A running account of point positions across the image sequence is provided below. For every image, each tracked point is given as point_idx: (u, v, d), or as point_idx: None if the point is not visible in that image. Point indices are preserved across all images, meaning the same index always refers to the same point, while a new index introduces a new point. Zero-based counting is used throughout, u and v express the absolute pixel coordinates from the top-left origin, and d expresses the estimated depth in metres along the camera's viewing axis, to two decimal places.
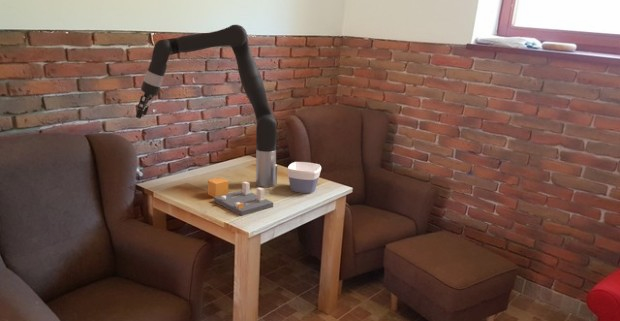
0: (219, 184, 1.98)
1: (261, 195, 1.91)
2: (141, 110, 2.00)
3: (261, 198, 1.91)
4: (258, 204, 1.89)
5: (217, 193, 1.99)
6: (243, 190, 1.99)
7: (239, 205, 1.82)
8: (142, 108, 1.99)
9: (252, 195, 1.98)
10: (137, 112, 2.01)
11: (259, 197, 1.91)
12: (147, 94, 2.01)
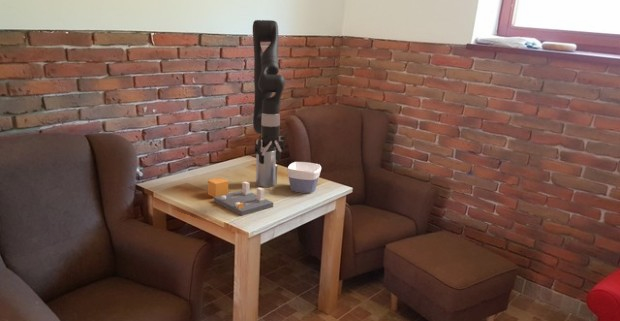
0: (219, 184, 1.98)
1: (261, 195, 1.91)
2: None
3: (261, 198, 1.91)
4: (258, 204, 1.89)
5: (217, 193, 1.99)
6: (243, 190, 1.99)
7: (239, 205, 1.82)
8: None
9: (252, 195, 1.98)
10: (279, 155, 1.94)
11: (259, 197, 1.91)
12: None
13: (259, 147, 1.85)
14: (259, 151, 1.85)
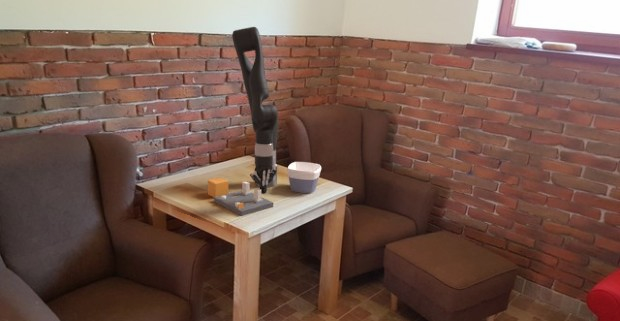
0: (219, 184, 1.98)
1: (258, 196, 1.90)
2: None
3: (258, 199, 1.90)
4: (258, 204, 1.89)
5: (217, 193, 1.99)
6: (243, 190, 1.99)
7: (239, 205, 1.82)
8: None
9: (252, 195, 1.98)
10: (265, 188, 1.92)
11: (256, 198, 1.90)
12: None
13: (257, 180, 1.87)
14: (260, 182, 1.89)
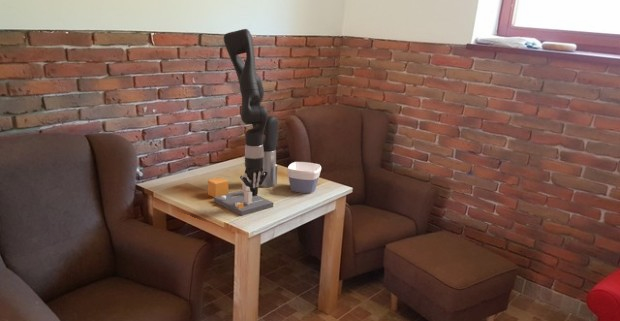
0: (219, 184, 1.98)
1: (249, 198, 1.87)
2: None
3: (249, 201, 1.87)
4: (258, 204, 1.89)
5: (217, 193, 1.99)
6: (243, 190, 1.99)
7: (239, 205, 1.82)
8: None
9: None
10: (256, 190, 1.89)
11: (247, 200, 1.87)
12: None
13: (247, 182, 1.84)
14: (250, 184, 1.85)
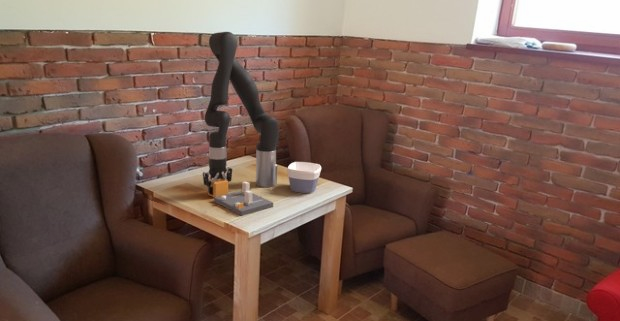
0: (219, 184, 1.98)
1: (249, 198, 1.87)
2: None
3: (249, 201, 1.87)
4: (258, 204, 1.89)
5: (217, 193, 1.99)
6: (243, 190, 1.99)
7: (239, 205, 1.82)
8: None
9: (252, 195, 1.98)
10: None
11: (247, 200, 1.87)
12: None
13: (207, 180, 1.96)
14: (208, 183, 1.97)
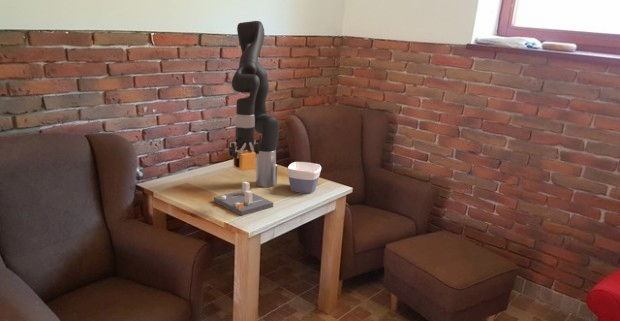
0: (246, 156, 1.81)
1: (249, 198, 1.87)
2: None
3: (249, 201, 1.87)
4: (258, 204, 1.89)
5: (244, 165, 1.81)
6: (243, 190, 1.99)
7: (239, 205, 1.82)
8: None
9: (252, 195, 1.98)
10: None
11: (247, 200, 1.87)
12: None
13: (233, 150, 1.79)
14: (234, 154, 1.79)
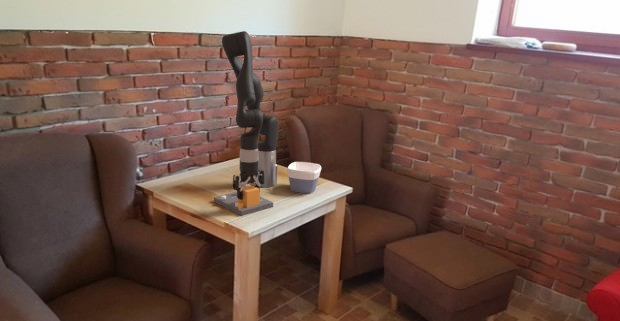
0: (250, 192, 1.84)
1: None
2: None
3: None
4: (258, 204, 1.89)
5: (248, 202, 1.84)
6: None
7: (239, 205, 1.82)
8: None
9: None
10: None
11: None
12: None
13: (237, 183, 1.81)
14: (237, 187, 1.81)
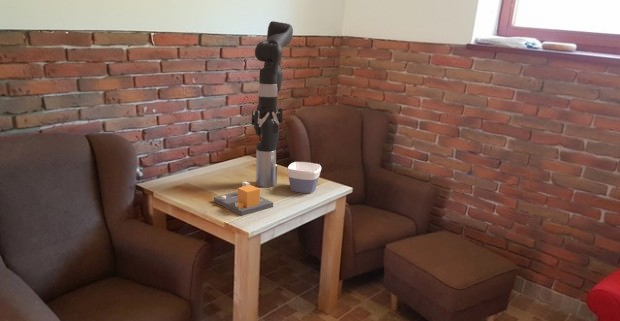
0: (250, 192, 1.84)
1: None
2: None
3: None
4: (258, 204, 1.89)
5: (248, 202, 1.84)
6: None
7: (239, 205, 1.82)
8: (279, 119, 1.91)
9: None
10: (277, 128, 1.89)
11: None
12: None
13: (256, 118, 1.80)
14: (256, 122, 1.81)
